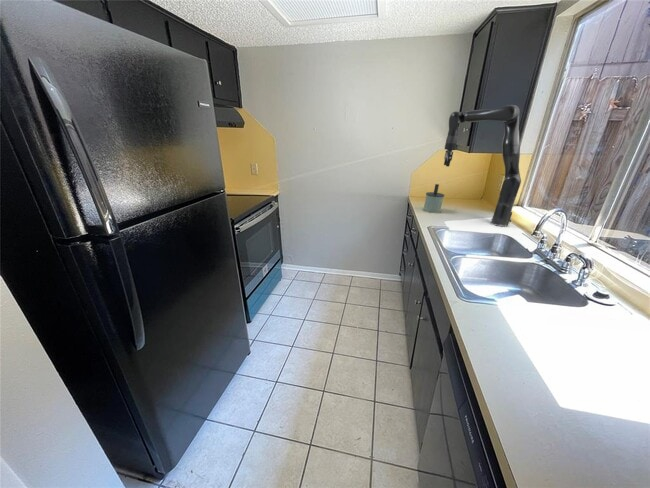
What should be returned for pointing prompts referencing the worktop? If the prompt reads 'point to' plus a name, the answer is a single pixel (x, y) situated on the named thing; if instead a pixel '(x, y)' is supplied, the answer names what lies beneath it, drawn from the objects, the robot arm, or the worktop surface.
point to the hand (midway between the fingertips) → (446, 165)
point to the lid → (435, 192)
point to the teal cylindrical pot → (433, 204)
